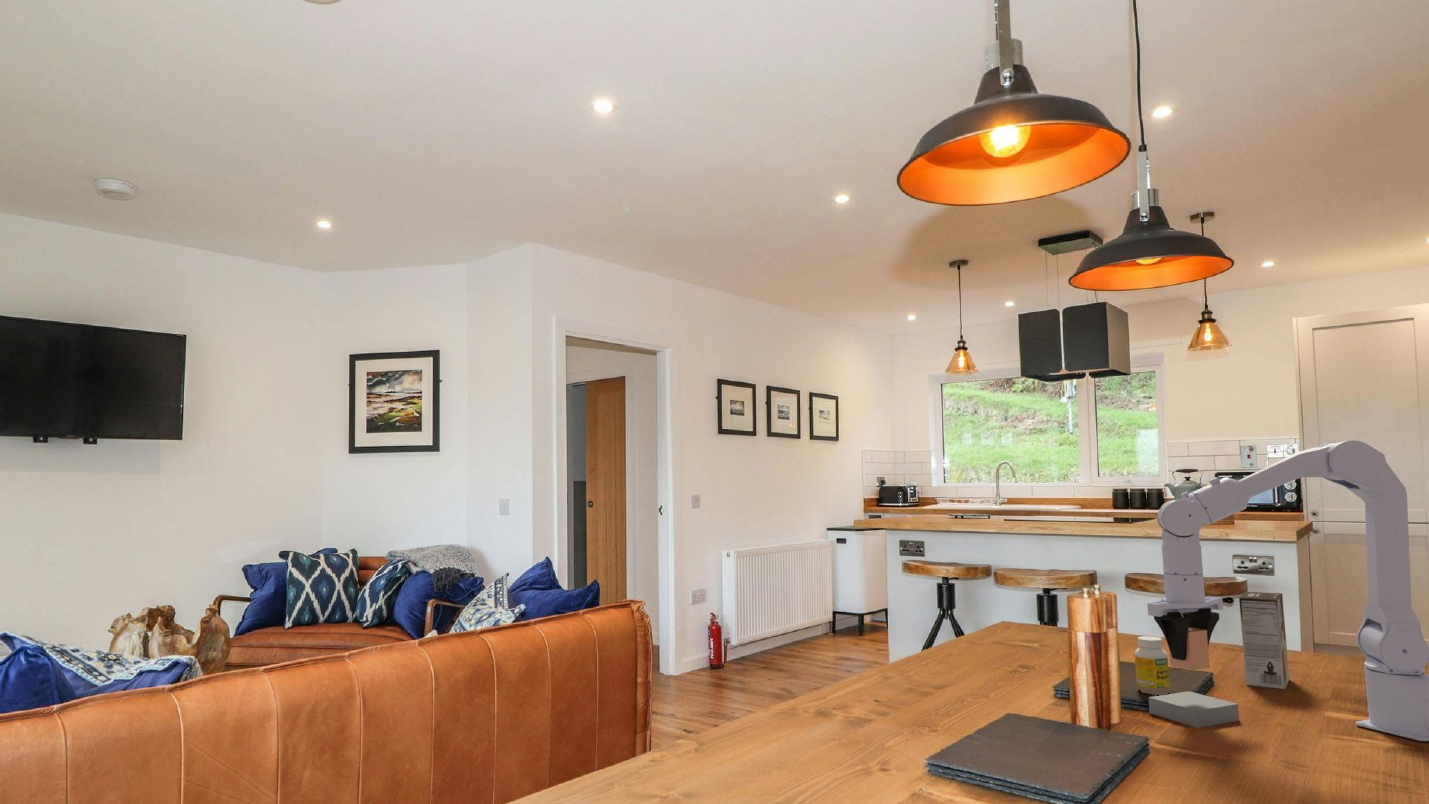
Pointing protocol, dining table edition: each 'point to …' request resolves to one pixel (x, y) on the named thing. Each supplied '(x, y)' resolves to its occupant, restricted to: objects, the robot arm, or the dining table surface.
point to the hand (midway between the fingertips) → (1189, 657)
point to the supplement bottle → (1151, 663)
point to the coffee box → (1264, 639)
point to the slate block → (1194, 709)
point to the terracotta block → (1194, 651)
